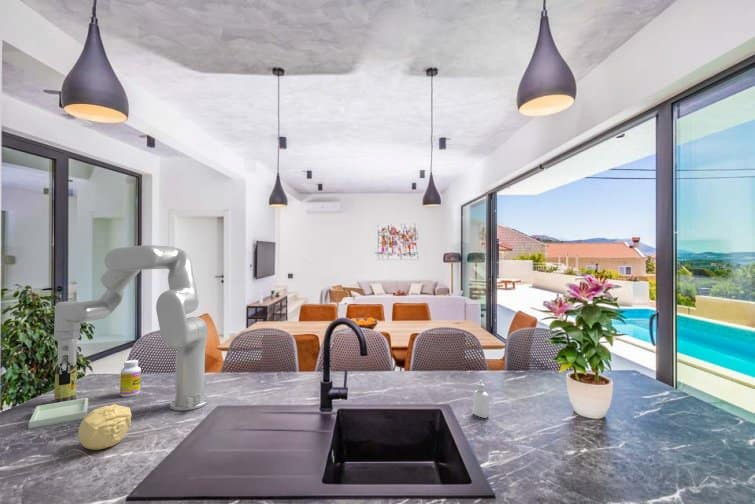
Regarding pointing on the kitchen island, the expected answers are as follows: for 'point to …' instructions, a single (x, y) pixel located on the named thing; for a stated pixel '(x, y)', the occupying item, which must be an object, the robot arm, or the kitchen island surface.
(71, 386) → the sauce bottle
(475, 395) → the eye dropper bottle
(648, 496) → the kitchen island surface
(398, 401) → the kitchen island surface
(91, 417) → the sculpture
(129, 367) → the supplement bottle
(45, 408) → the tray
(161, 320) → the robot arm
